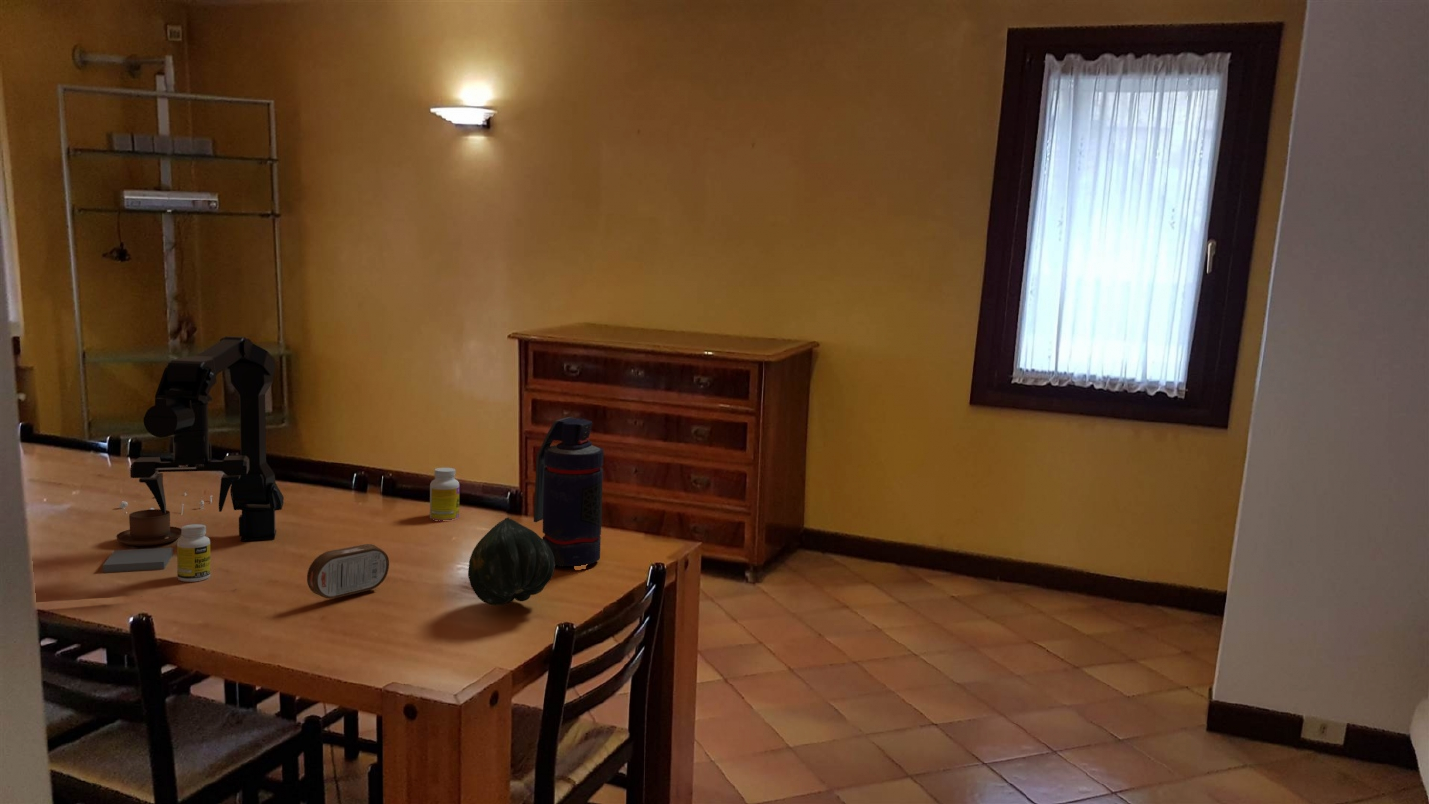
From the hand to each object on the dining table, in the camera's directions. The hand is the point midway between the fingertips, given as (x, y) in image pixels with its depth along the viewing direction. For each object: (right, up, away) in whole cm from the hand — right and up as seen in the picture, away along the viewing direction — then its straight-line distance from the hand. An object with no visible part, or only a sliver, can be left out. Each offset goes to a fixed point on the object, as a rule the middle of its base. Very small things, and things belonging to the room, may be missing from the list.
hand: (192, 512), depth 178 cm
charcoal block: (-15, -11, +9) cm, 21 cm away
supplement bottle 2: (+33, -8, +48) cm, 59 cm away
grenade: (+66, -13, +22) cm, 70 cm away
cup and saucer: (-21, -9, +23) cm, 33 cm away
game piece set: (-32, -6, +49) cm, 58 cm away
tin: (+30, -15, -3) cm, 34 cm away
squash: (+60, -16, -5) cm, 62 cm away
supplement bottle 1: (-1, -13, +1) cm, 13 cm away
